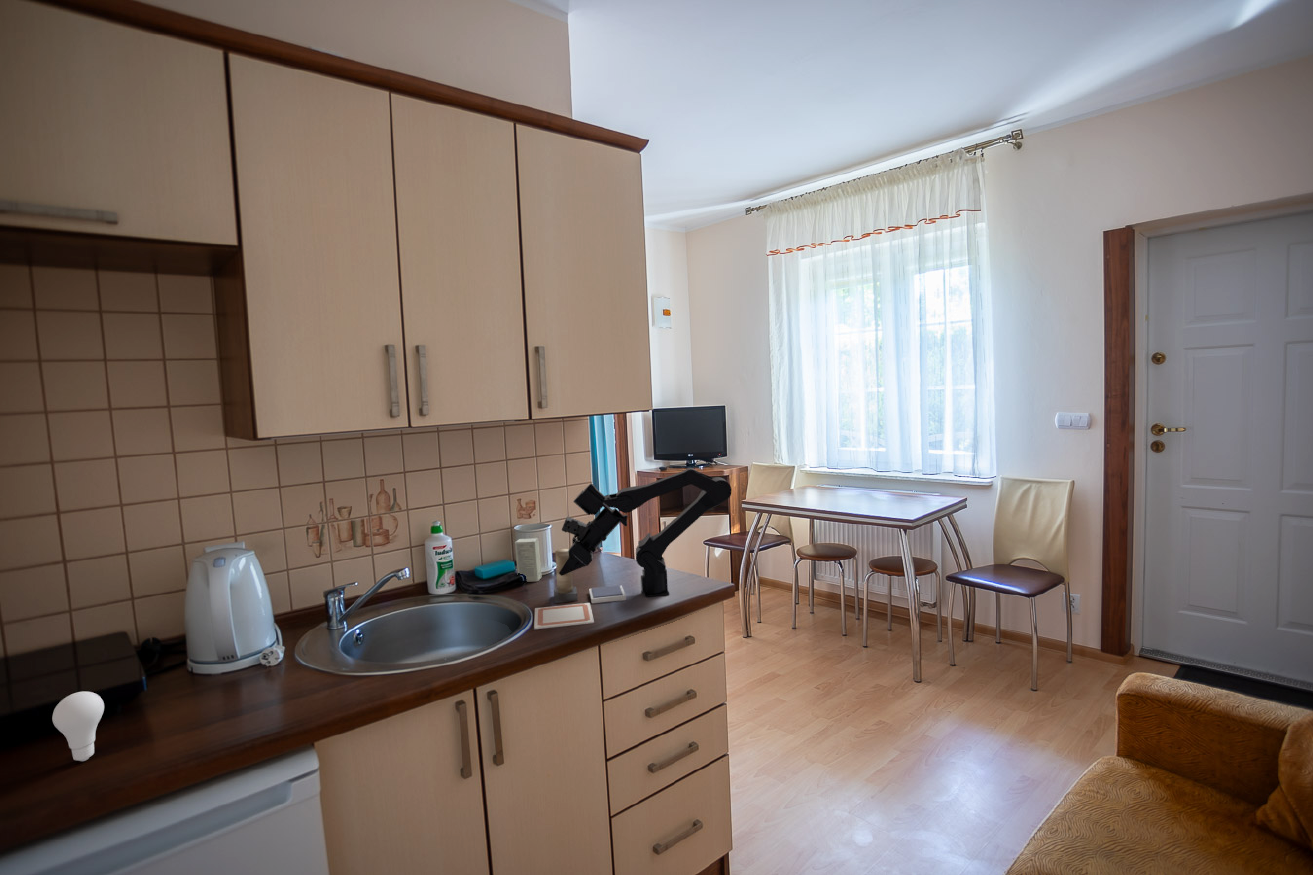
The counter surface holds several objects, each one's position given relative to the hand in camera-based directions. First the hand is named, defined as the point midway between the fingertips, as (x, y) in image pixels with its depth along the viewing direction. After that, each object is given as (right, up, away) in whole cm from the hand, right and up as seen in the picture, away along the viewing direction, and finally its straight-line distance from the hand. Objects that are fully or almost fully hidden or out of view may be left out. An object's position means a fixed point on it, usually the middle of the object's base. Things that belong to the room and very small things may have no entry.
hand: (562, 569), depth 172 cm
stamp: (+1, -8, +1) cm, 8 cm away
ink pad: (+12, -7, 0) cm, 14 cm away
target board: (+2, -9, -13) cm, 16 cm away
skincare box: (-13, -7, +20) cm, 24 cm away
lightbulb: (-66, -16, -70) cm, 97 cm away
